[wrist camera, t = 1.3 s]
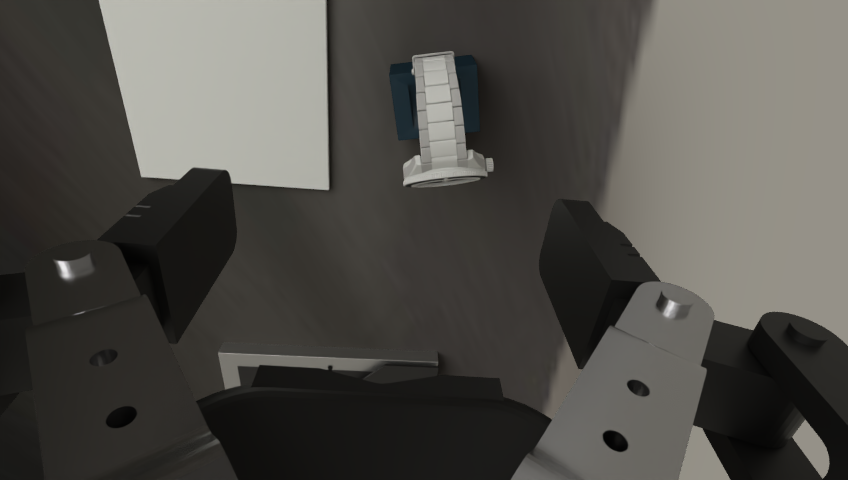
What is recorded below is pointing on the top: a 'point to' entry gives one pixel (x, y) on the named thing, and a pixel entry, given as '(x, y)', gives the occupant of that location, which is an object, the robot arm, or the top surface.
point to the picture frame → (326, 362)
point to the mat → (225, 87)
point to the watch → (438, 118)
